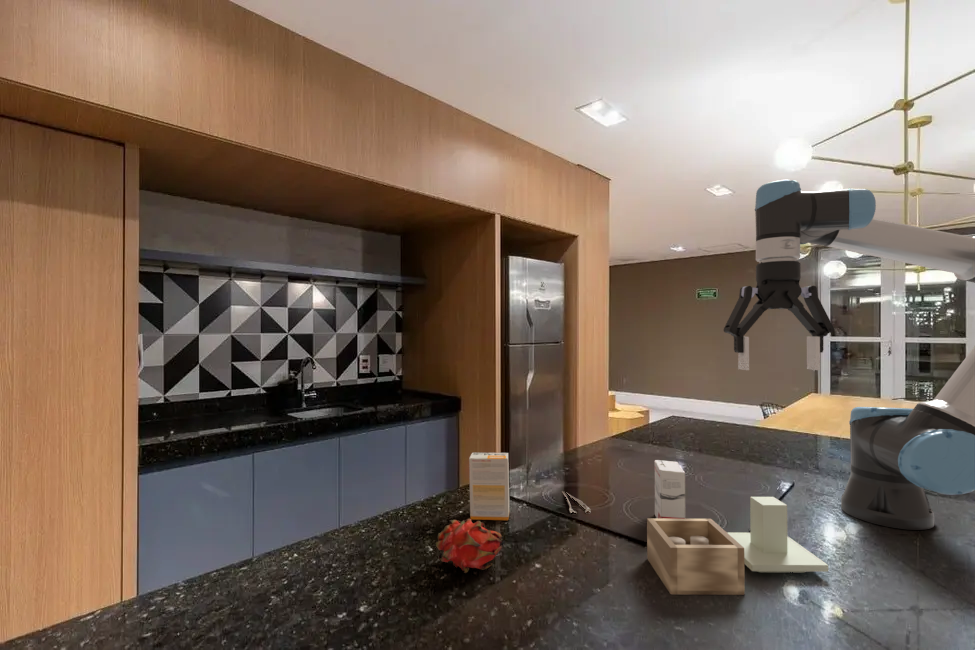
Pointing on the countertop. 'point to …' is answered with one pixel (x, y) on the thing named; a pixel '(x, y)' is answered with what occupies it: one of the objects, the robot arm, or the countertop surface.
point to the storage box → (695, 557)
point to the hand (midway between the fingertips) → (778, 369)
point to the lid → (773, 541)
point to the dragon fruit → (469, 544)
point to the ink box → (669, 490)
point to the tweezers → (578, 502)
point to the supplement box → (489, 486)
